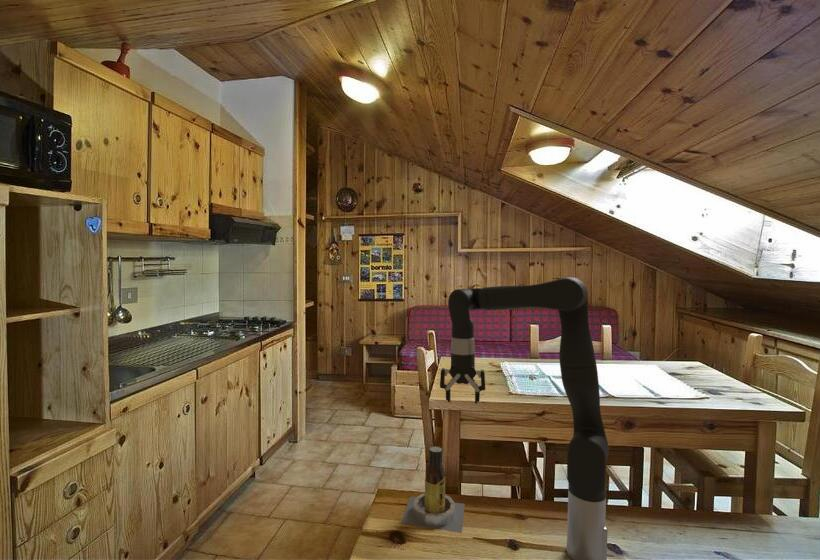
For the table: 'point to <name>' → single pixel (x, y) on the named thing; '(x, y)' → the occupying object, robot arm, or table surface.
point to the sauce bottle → (435, 483)
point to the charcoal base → (452, 526)
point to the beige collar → (431, 518)
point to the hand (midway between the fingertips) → (462, 402)
